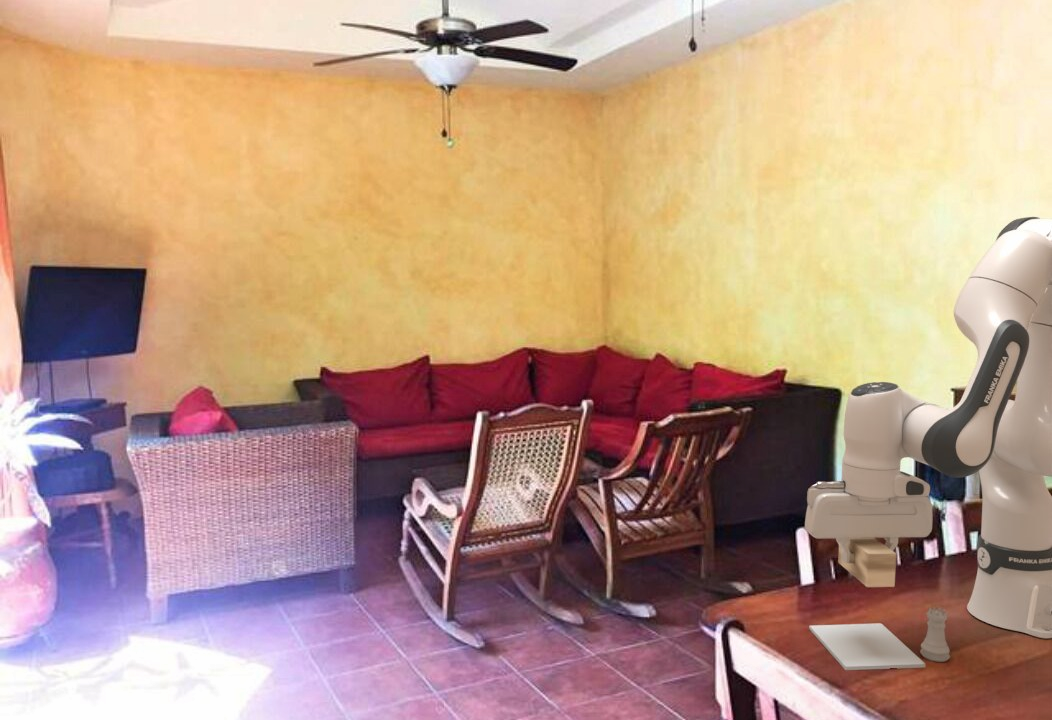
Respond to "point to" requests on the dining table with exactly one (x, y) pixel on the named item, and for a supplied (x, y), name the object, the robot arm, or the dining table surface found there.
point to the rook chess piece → (935, 637)
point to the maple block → (871, 562)
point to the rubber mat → (865, 647)
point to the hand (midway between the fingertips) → (865, 562)
